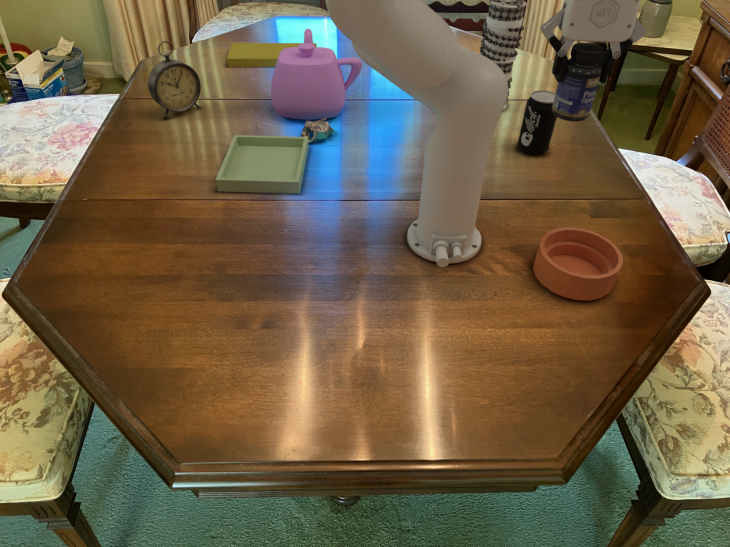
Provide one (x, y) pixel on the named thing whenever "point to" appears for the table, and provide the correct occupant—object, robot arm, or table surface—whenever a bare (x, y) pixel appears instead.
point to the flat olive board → (256, 54)
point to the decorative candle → (503, 34)
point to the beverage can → (537, 123)
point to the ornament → (317, 130)
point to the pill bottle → (578, 83)
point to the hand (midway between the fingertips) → (579, 78)
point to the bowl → (577, 263)
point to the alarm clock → (174, 84)
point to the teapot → (310, 81)
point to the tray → (263, 164)
